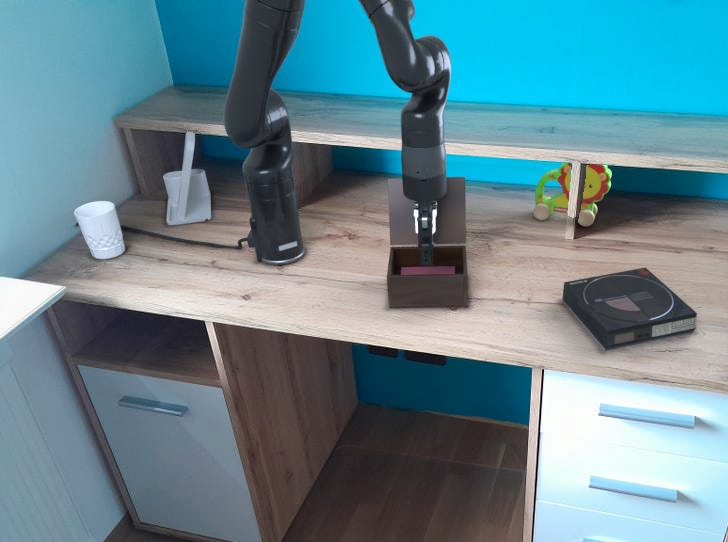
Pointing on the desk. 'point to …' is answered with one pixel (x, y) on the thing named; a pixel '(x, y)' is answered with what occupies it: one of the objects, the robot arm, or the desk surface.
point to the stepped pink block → (428, 270)
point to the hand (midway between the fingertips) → (427, 254)
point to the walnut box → (427, 279)
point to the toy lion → (593, 191)
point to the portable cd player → (628, 308)
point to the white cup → (101, 229)
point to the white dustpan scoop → (187, 190)
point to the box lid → (447, 219)
